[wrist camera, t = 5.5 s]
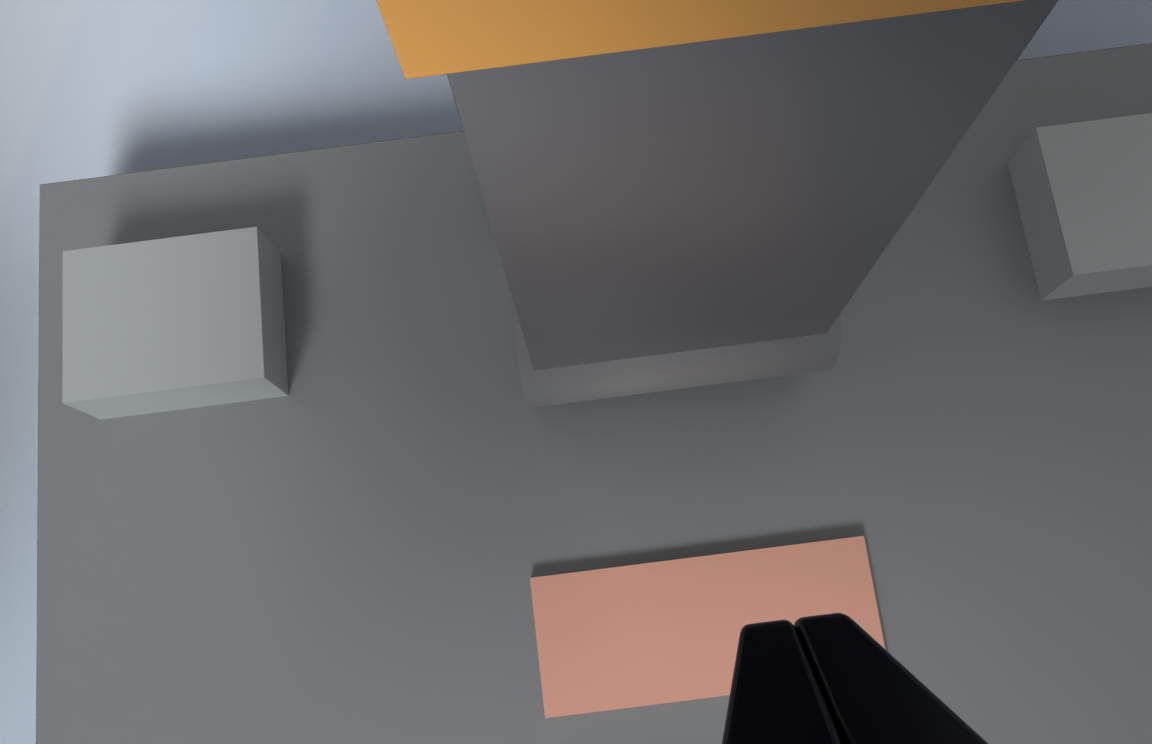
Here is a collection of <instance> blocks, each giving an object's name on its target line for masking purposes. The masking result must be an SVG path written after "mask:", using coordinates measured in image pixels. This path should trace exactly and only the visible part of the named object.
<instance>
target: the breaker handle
mask: <svg viewBox="0 0 1152 744" xmlns="http://www.w3.org/2000/svg"><path fill="white" fill-rule="evenodd" d="M376 1H377V3H378V6H379V9H380V12H381V14H382V17H383V20H384V22H385V25H386V28H387V31H388V33H389V36H390V39H391V41H392V44H393V47H394V50H395V52H396V55H397V58H398V60H399V63H400V66H401V69H402V71H403V74H404V77H405V79H410V78H418V77H425V76H433V75H441V74H447V75H448V79H449V82H450V86H451V89H452V92H453V96H454V99H455V103H456V106H457V110H458V113H459V116H460V120H461V123H462V127H463V130H464V134H465V137H466V140H467V144H468V147H469V151H470V154H471V158H472V161H473V164H474V168H475V171H476V175H477V178H478V182H479V185H480V188H481V192H482V195H483V199H484V202H485V206H486V209H487V212H488V216H489V219H490V223H491V226H492V230H493V233H494V236H495V240H496V243H497V247H498V250H499V254H500V257H501V260H502V264H503V267H504V271H505V274H506V278H507V285H508V294H509V303H510V312H511V320H512V328H513V336H514V343H515V350H516V357H517V363H518V369H519V375H520V381H521V387H522V392H523V397H524V401H525V405H526V407H527V408H534V407H542V406H550V405H558V404H565V403H573V402H581V401H589V400H597V399H605V398H613V397H621V396H629V395H637V394H645V393H652V392H660V391H668V390H676V389H684V388H692V387H700V386H708V385H716V384H724V383H731V382H739V381H747V380H755V379H763V378H771V377H779V376H787V375H795V374H803V373H811V372H818V371H826V370H831V369H832V368H833V367H834V366H835V364H836V362H837V359H838V355H839V350H840V342H841V312H842V311H843V309H844V308H845V306H846V305H847V303H848V302H849V301H850V299H851V298H852V296H853V295H854V293H855V292H856V290H857V289H858V288H859V286H860V285H861V283H862V282H863V280H864V279H865V278H866V276H867V275H868V273H869V272H870V270H871V269H872V267H873V266H874V265H875V263H876V262H877V260H878V259H879V257H880V256H881V255H882V253H883V252H884V250H885V249H886V247H887V246H888V244H889V243H890V242H891V240H892V239H893V237H894V236H895V234H896V233H897V231H898V230H899V229H900V227H901V226H902V224H903V223H904V221H905V220H906V219H907V217H908V216H909V214H910V213H911V211H912V210H913V208H914V207H915V206H916V204H917V203H918V201H919V200H920V198H921V197H922V196H923V194H924V193H925V191H926V190H927V188H928V187H929V185H930V184H931V183H932V181H933V180H934V178H935V177H936V175H937V174H938V173H939V171H940V170H941V168H942V167H943V165H944V164H945V162H946V161H947V160H948V158H949V157H950V155H951V154H952V152H953V151H954V150H955V148H956V147H957V145H958V144H959V142H960V141H961V139H962V138H963V137H964V135H965V134H966V132H967V131H968V129H969V128H970V127H971V125H972V124H973V122H974V121H975V119H976V118H977V116H978V115H979V114H980V112H981V111H982V109H983V108H984V106H985V105H986V104H987V102H988V101H989V99H990V98H991V96H992V95H993V93H994V92H995V91H996V89H997V88H998V86H999V85H1000V83H1001V82H1002V81H1003V79H1004V78H1005V76H1006V75H1007V73H1008V72H1009V70H1010V69H1011V68H1012V66H1013V65H1014V63H1015V62H1016V60H1017V59H1018V58H1019V56H1020V55H1021V53H1022V52H1023V50H1024V49H1025V47H1026V46H1027V45H1028V43H1029V42H1030V40H1031V39H1032V37H1033V36H1034V35H1035V33H1036V32H1037V30H1038V29H1039V27H1040V26H1041V24H1042V23H1043V22H1044V20H1045V19H1046V17H1047V16H1048V14H1049V13H1050V11H1051V10H1052V9H1053V7H1054V6H1055V4H1056V3H1057V1H1058V0H376Z"/></svg>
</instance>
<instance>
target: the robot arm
mask: <svg viewBox="0 0 1152 744" xmlns="http://www.w3.org/2000/svg"><path fill="white" fill-rule="evenodd" d="M722 744H988V743H987V742H986V741H985V740H984V739H983V738H982V737H981V736H980V735H978V734H977V733H976V732H975V731H974V730H973V729H972V728H971V727H970V726H969V725H968V724H966V723H965V722H964V721H963V720H962V719H961V718H960V717H959V716H958V715H957V714H955V713H954V712H953V711H952V710H951V709H950V708H949V707H948V706H947V705H946V704H945V703H943V702H942V701H941V700H940V699H939V698H938V697H937V696H936V695H935V694H934V693H933V692H931V691H930V690H929V689H928V688H927V687H926V686H925V685H924V684H923V683H922V682H921V681H919V680H918V679H917V678H916V677H915V676H914V675H913V674H912V673H911V672H910V671H908V670H907V669H906V668H905V667H904V666H903V665H902V664H901V663H900V662H899V661H898V660H896V659H895V658H894V657H893V656H892V655H891V654H890V653H889V652H888V651H887V650H886V649H884V648H883V647H882V646H881V645H880V644H879V643H878V642H877V641H876V640H875V639H874V638H872V637H871V636H870V635H869V634H868V633H867V632H866V631H865V630H864V629H863V628H861V627H860V626H859V625H858V624H857V623H856V622H855V621H854V620H853V619H852V618H850V617H849V616H847V615H845V614H842V613H832V614H824V615H816V616H808V617H801V618H799V619H798V620H797V621H795V623H794V625H793V624H792V623H791V622H790V621H788V620H776V621H768V622H761V623H753V624H747V625H745V626H744V627H743V628H742V629H741V632H740V636H739V642H738V648H737V654H736V660H735V666H734V672H733V678H732V684H731V690H730V696H729V703H728V709H727V715H726V721H725V727H724V733H723V739H722Z"/></svg>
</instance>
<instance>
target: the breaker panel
mask: <svg viewBox="0 0 1152 744" xmlns="http://www.w3.org/2000/svg"><path fill="white" fill-rule="evenodd" d="M832 613H842V614H845V615H847V616H849V617H850V618H852V619H853V620H854V621H855V622H856V623H857V624H858V625H859V626H860V627H861V628H863V629H864V630H865V631H866V632H867V633H868V634H869V635H870V636H871V637H872V638H874V639H875V640H876V641H877V642H878V643H879V644H880V645H881V646H882V647H883V648H884V649H886V650H887V651H888V652H889V653H890V654H891V655H892V656H893V657H894V658H895V659H896V660H898V661H899V662H900V663H901V664H902V665H903V666H904V667H905V668H906V669H907V670H908V671H910V672H911V673H912V674H913V675H914V676H915V677H916V678H917V679H918V680H919V681H921V682H922V683H923V684H924V685H925V686H926V687H927V688H928V689H929V690H930V691H931V692H933V693H934V694H935V695H936V696H937V697H938V698H939V699H940V700H941V701H942V702H943V703H945V704H946V705H947V706H948V707H949V708H950V709H951V710H952V711H953V712H954V713H955V714H957V715H958V716H959V717H960V718H961V719H962V720H963V721H964V722H965V723H966V724H968V725H969V726H970V727H971V728H972V729H973V730H974V731H975V732H976V733H977V734H978V735H980V736H981V737H982V738H983V739H984V740H985V741H986V742H987V743H988V744H1152V43H1150V44H1142V45H1135V46H1127V47H1119V48H1111V49H1103V50H1095V51H1087V52H1079V53H1072V54H1064V55H1056V56H1048V57H1040V58H1032V59H1024V60H1017V61H1016V62H1015V63H1014V65H1013V66H1012V68H1011V69H1010V70H1009V72H1008V73H1007V75H1006V76H1005V78H1004V79H1003V81H1002V82H1001V83H1000V85H999V86H998V88H997V89H996V91H995V92H994V93H993V95H992V96H991V98H990V99H989V101H988V102H987V104H986V105H985V106H984V108H983V109H982V111H981V112H980V114H979V115H978V116H977V118H976V119H975V121H974V122H973V124H972V125H971V127H970V128H969V129H968V131H967V132H966V134H965V135H964V137H963V138H962V139H961V141H960V142H959V144H958V145H957V147H956V148H955V150H954V151H953V152H952V154H951V155H950V157H949V158H948V160H947V161H946V162H945V164H944V165H943V167H942V168H941V170H940V171H939V173H938V174H937V175H936V177H935V178H934V180H933V181H932V183H931V184H930V185H929V187H928V188H927V190H926V191H925V193H924V194H923V196H922V197H921V198H920V200H919V201H918V203H917V204H916V206H915V207H914V208H913V210H912V211H911V213H910V214H909V216H908V217H907V219H906V220H905V221H904V223H903V224H902V226H901V227H900V229H899V230H898V231H897V233H896V234H895V236H894V237H893V239H892V240H891V242H890V243H889V244H888V246H887V247H886V249H885V250H884V252H883V253H882V255H881V256H880V257H879V259H878V260H877V262H876V263H875V265H874V266H873V267H872V269H871V270H870V272H869V273H868V275H867V276H866V278H865V279H864V280H863V282H862V283H861V285H860V286H859V288H858V289H857V290H856V292H855V293H854V295H853V296H852V298H851V299H850V301H849V302H848V303H847V305H846V306H845V308H844V309H843V311H842V312H841V342H840V350H839V355H838V359H837V362H836V364H835V366H834V367H833V368H832V369H831V370H826V371H818V372H811V373H803V374H795V375H787V376H779V377H771V378H763V379H755V380H747V381H739V382H731V383H724V384H716V385H708V386H700V387H692V388H684V389H676V390H668V391H660V392H652V393H645V394H637V395H629V396H621V397H613V398H605V399H597V400H589V401H581V402H573V403H565V404H558V405H550V406H542V407H534V408H527V407H526V405H525V401H524V397H523V392H522V387H521V381H520V375H519V369H518V363H517V357H516V350H515V343H514V336H513V328H512V320H511V312H510V303H509V294H508V285H507V278H506V274H505V271H504V267H503V264H502V260H501V257H500V254H499V250H498V247H497V243H496V240H495V236H494V233H493V230H492V226H491V223H490V219H489V216H488V212H487V209H486V206H485V202H484V199H483V195H482V192H481V188H480V185H479V182H478V178H477V175H476V171H475V168H474V164H473V161H472V158H471V154H470V151H469V147H468V144H467V140H466V137H465V134H464V131H458V132H450V133H442V134H434V135H427V136H419V137H411V138H403V139H395V140H387V141H379V142H371V143H364V144H356V145H348V146H340V147H332V148H324V149H316V150H309V151H301V152H293V153H285V154H277V155H269V156H261V157H253V158H246V159H238V160H230V161H222V162H214V163H206V164H198V165H191V166H183V167H175V168H167V169H159V170H151V171H143V172H135V173H128V174H120V175H112V176H104V177H96V178H88V179H80V180H73V181H65V182H57V183H49V184H41V185H40V241H39V390H38V538H37V687H36V744H722V739H723V733H724V727H725V721H726V715H727V709H728V703H729V696H730V690H731V684H732V678H733V672H734V666H735V660H736V654H737V648H738V642H739V636H740V632H741V629H742V628H743V627H744V626H745V625H747V624H753V623H761V622H768V621H776V620H788V621H790V622H791V623H792V624H793V625H794V623H795V621H797V620H798V619H799V618H801V617H808V616H816V615H824V614H832Z"/></svg>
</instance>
